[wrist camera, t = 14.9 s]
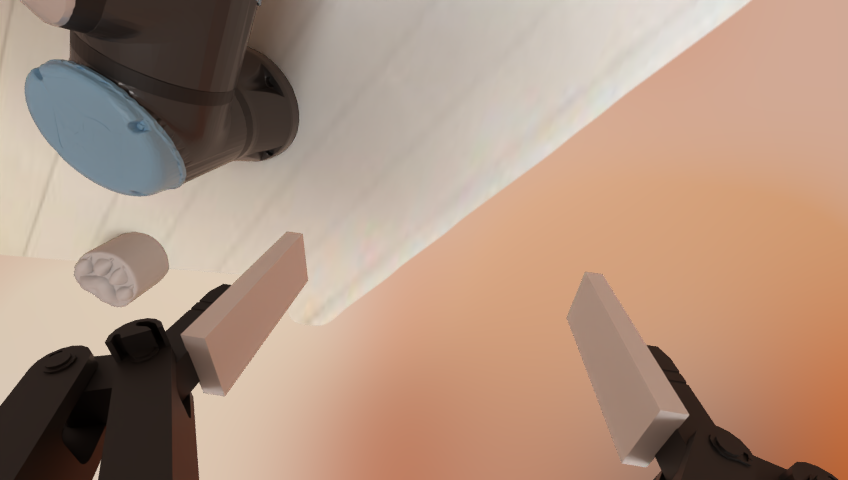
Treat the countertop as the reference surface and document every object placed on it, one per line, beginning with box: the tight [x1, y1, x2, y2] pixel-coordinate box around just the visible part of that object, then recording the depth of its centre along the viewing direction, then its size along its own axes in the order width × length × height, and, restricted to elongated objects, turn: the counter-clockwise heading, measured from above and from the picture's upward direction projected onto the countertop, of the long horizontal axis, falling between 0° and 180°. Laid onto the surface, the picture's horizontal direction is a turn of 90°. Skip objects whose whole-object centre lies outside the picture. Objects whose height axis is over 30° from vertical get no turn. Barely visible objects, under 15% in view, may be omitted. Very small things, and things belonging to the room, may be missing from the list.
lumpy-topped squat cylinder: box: [74, 232, 169, 307], centre depth 60 cm, size 10×13×9 cm
